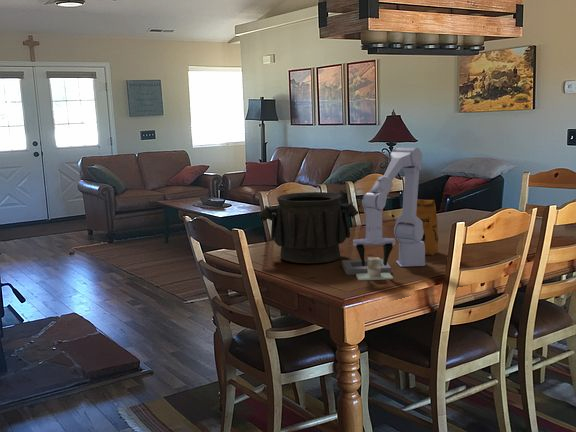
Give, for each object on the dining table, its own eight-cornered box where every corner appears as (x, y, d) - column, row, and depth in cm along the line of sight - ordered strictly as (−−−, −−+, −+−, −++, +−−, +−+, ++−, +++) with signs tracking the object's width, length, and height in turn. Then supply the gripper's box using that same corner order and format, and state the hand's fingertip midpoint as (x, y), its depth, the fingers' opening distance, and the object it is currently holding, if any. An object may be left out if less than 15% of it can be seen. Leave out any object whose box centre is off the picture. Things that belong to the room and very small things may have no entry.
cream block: (378, 273, 226) (378, 257, 225) (380, 276, 222) (380, 259, 221) (367, 274, 226) (367, 257, 225) (369, 276, 222) (369, 260, 221)
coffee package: (432, 257, 251) (433, 201, 247) (403, 253, 258) (403, 199, 254) (441, 252, 259) (442, 198, 255) (413, 248, 266) (413, 196, 262)
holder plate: (383, 263, 242) (383, 258, 242) (391, 273, 228) (391, 267, 228) (341, 265, 241) (341, 260, 241) (346, 274, 228) (346, 269, 227)
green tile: (389, 274, 227) (389, 272, 227) (393, 279, 220) (393, 277, 220) (355, 275, 227) (355, 273, 227) (358, 280, 220) (358, 278, 220)
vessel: (255, 258, 256) (252, 197, 252) (313, 246, 276) (312, 188, 272) (305, 272, 233) (303, 204, 229) (365, 257, 253) (365, 195, 249)
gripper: (354, 229, 216) (355, 268, 219) (397, 228, 217) (397, 267, 219) (351, 226, 223) (352, 263, 226) (392, 224, 224) (392, 262, 226)
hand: (374, 265), depth 223 cm, fingers open, 7 cm apart
